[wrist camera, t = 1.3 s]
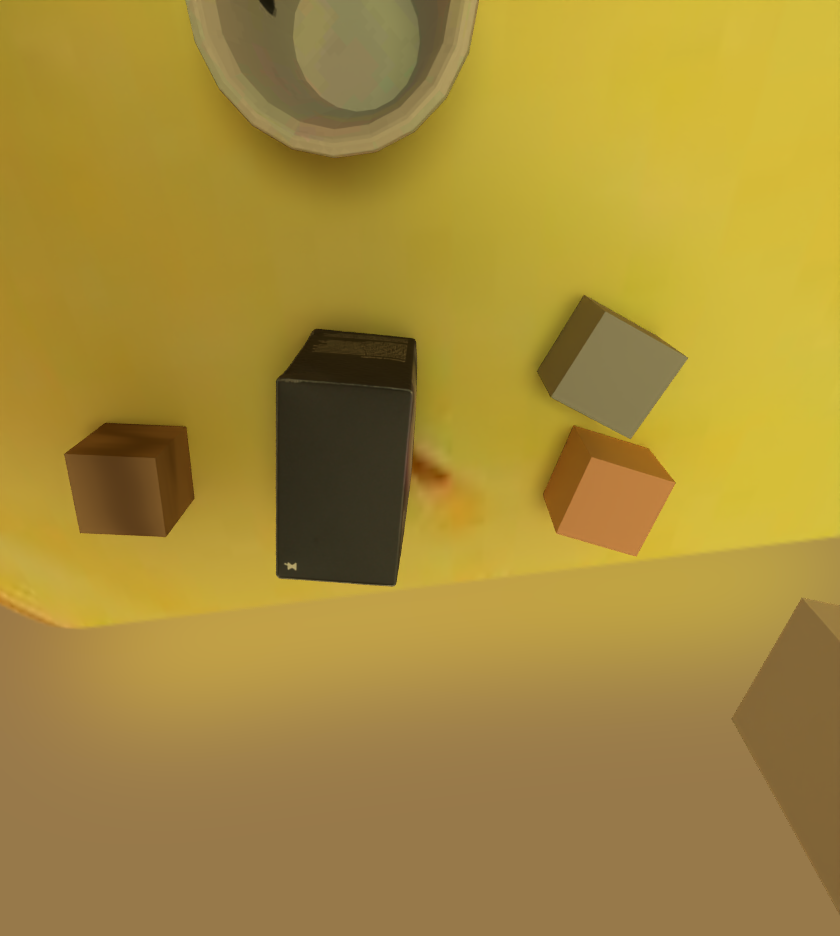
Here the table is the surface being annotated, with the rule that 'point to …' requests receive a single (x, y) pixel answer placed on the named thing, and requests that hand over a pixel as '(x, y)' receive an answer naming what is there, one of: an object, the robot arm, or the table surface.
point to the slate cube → (609, 367)
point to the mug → (334, 65)
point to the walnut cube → (131, 479)
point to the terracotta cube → (606, 491)
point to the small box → (344, 457)
